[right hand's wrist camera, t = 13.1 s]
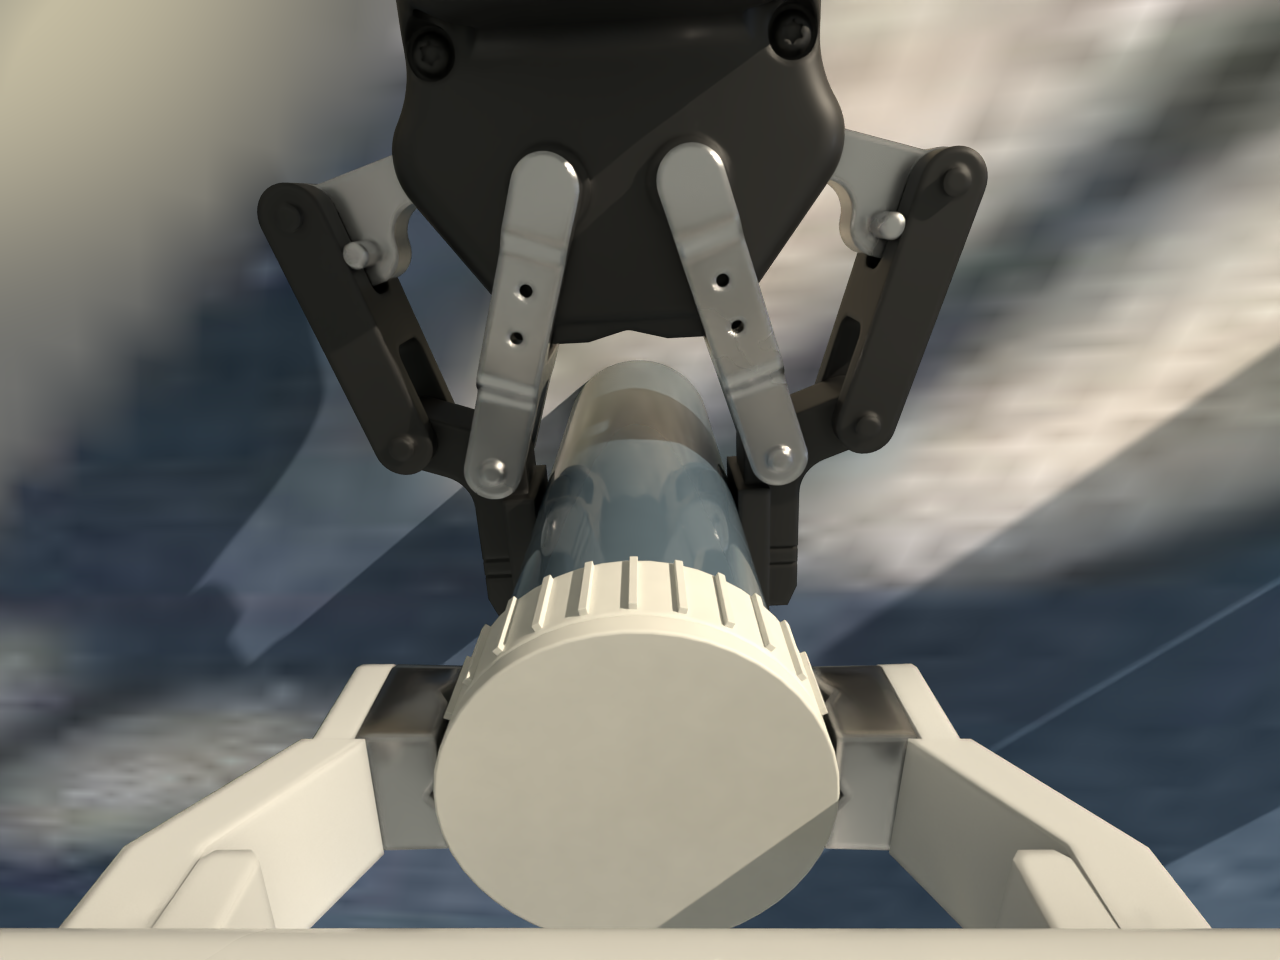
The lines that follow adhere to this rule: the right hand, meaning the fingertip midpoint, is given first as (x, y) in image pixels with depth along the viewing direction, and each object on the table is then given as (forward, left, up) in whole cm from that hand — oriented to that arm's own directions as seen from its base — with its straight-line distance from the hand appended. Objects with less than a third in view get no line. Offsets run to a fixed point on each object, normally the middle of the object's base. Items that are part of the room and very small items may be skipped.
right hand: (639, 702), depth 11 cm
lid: (0, 0, +2) cm, 2 cm away
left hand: (-2, -2, -7) cm, 7 cm away
